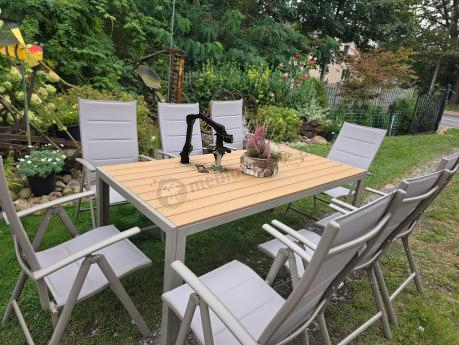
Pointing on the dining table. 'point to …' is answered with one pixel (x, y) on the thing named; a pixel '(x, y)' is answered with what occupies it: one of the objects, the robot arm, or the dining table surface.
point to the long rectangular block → (218, 159)
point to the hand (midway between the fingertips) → (217, 161)
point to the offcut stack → (203, 171)
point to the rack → (200, 166)
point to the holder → (217, 167)
